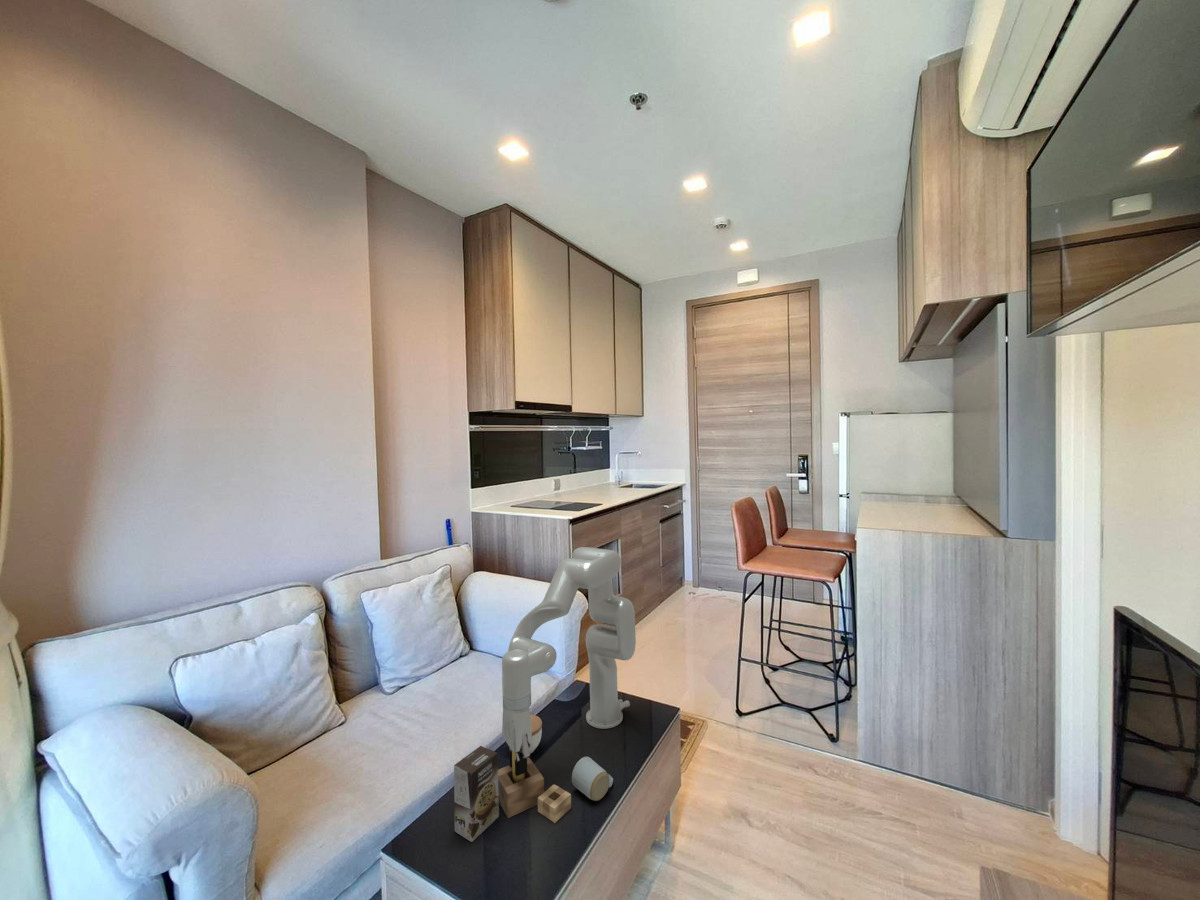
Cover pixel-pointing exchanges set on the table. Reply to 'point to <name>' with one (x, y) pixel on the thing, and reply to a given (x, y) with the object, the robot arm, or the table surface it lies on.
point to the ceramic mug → (591, 779)
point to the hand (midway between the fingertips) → (518, 768)
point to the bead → (519, 789)
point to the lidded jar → (535, 732)
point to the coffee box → (476, 792)
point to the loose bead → (554, 803)
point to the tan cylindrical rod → (515, 778)
